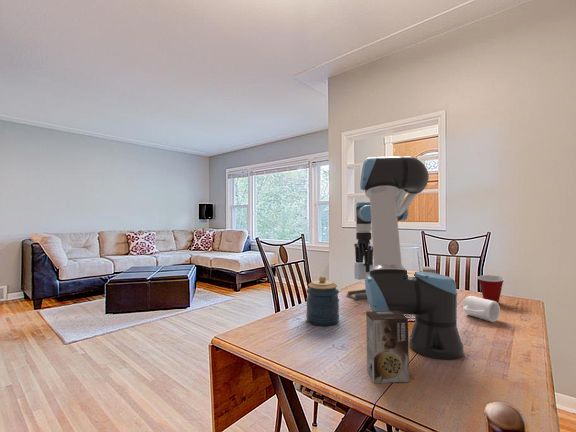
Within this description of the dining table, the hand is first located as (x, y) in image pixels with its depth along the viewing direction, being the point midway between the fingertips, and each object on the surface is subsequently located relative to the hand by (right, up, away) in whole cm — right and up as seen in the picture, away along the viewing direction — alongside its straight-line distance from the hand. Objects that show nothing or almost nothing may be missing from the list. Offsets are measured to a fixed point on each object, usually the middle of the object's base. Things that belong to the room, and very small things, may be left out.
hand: (363, 277), depth 156 cm
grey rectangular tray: (0, -10, 0) cm, 10 cm away
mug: (+37, -10, -34) cm, 52 cm away
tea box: (+27, -10, -1) cm, 29 cm away
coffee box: (-13, -10, -77) cm, 79 cm away
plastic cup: (+57, -9, -12) cm, 59 cm away
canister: (-25, -10, -36) cm, 45 cm away
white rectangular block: (0, 0, 0) cm, 0 cm away
